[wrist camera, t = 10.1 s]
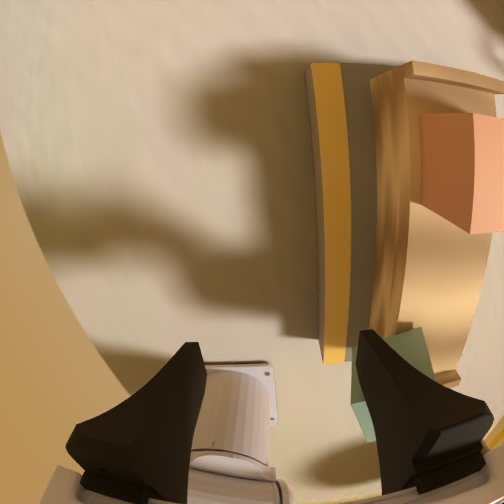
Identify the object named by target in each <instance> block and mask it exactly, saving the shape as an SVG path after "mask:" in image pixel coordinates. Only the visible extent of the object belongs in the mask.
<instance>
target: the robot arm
mask: <svg viewBox="0 0 504 504" xmlns="http://www.w3.org/2000/svg"><path fill="white" fill-rule="evenodd" d="M356 369H357V374H358V379H359V383H360V386H361V389H362V392H363V395H364V398H365V401H366V404H367V407H368V410H369V413H370V416H371V419H372V423H373V427H374V432H375V437H376V443H377V449H378V456H379V463H380V473H381V485H382V496H378V497H373V498H368V499H363V500H358V501H353V502H347V503H340V504H502V503H503V502H504V444H502V445H500V446H498V447H496V448H494V449H492V450H490V451H489V452H487V453H486V454H484V455H482V453H481V450H482V449H483V445H482V443H481V440H482V439H483V437H484V436H485V435H486V433H487V432H488V431H489V429H490V428H491V426H492V424H493V420H494V417H493V415H492V413H491V411H490V409H489V408H488V406H487V404H486V403H485V401H482V400H479V399H475V398H472V397H469V396H466V395H463V394H461V393H458V392H456V391H453V390H451V389H449V388H447V387H445V386H443V385H441V384H439V383H437V382H436V381H434V380H432V379H431V378H429V377H428V376H426V375H425V374H423V373H421V372H420V371H419V370H417V369H416V368H415V367H413V366H412V365H411V364H409V363H408V362H407V361H406V360H405V359H403V358H402V357H401V356H400V355H399V354H398V353H397V352H396V351H395V350H393V349H392V348H391V347H390V346H389V345H388V344H387V343H386V342H385V341H384V340H383V339H382V338H381V337H380V336H379V335H378V334H377V333H376V332H375V331H374V330H373V329H370V330H362V331H360V332H359V341H358V349H357V357H356ZM265 372H269V373H265ZM277 424H278V423H277V411H276V400H275V390H274V379H273V369H272V365H271V364H268V363H262V364H236V365H204V361H203V357H202V354H201V350H200V347H199V343H198V342H185V343H184V345H183V346H182V347H181V348H180V349H179V350H178V351H177V352H176V354H175V355H174V356H173V357H172V358H171V359H170V360H169V361H168V363H167V364H166V365H165V366H164V367H163V368H162V369H161V370H160V371H159V372H158V373H157V374H156V375H155V376H154V377H153V378H152V379H151V380H150V381H149V382H148V383H147V384H146V385H145V386H143V387H142V388H141V389H140V390H139V391H137V392H136V393H135V394H133V395H132V396H131V397H129V398H128V399H126V400H125V401H124V402H122V403H120V404H119V405H117V406H116V407H114V408H112V409H111V410H109V411H107V412H105V413H103V414H101V415H99V416H97V417H94V418H92V419H90V420H87V421H84V422H82V423H79V424H77V425H76V426H75V429H74V430H73V432H72V434H71V436H70V438H69V440H68V442H67V444H66V449H67V452H68V453H69V455H70V456H71V457H72V458H73V459H74V460H75V461H76V462H77V463H78V464H79V465H80V466H81V467H82V468H83V469H84V470H85V472H84V474H83V476H82V475H81V474H79V473H78V472H75V471H73V470H70V469H67V468H64V467H62V466H60V465H58V466H57V467H56V469H55V471H54V473H53V475H52V478H51V480H50V482H49V484H48V486H47V488H46V491H45V493H44V495H43V497H42V499H41V502H40V504H294V498H293V494H292V492H291V490H290V488H289V487H288V485H287V484H286V483H285V482H284V481H283V480H278V479H276V468H273V467H269V448H270V427H273V426H276V425H277Z"/></svg>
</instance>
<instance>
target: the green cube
mask: <svg viewBox="0 0 504 504" xmlns="http://www.w3.org/2000/svg"><path fill="white" fill-rule="evenodd" d="M383 340H384V341H385V342H386V343H387V344H388V345H389V346H390V347H391V348H392V349H393V350H395V351H396V352H397V353H398V354H399V355H400V356H401V357H402V358H403V359H405V360H406V361H407V362H408V363H409V364H411V365H412V366H413V367H415V368H416V369H417V370H419V371H420V372H421V373H423V374H425V375H426V376H428V377H429V378H431V379H432V380H434V381H436V380H435V376H434V372H433V368H432V364H431V360H430V356H429V352H428V348H427V345H426V341H425V338H424V334H423V331H422V327H418V328H415V329H412V330H409V331H406V332H403V333H400V334H397V335H393V336H390V337H387V338H383ZM357 349H358V346H355V347H352V381H351V406H352V408H353V411H354V413H355V415H356V417H357V420H358V422H359V424H360V426H361V429H362V431H363V433H364V436H365V438H366V440H367V442H368V443H369V442H374V441H376V437H375V432H374V427H373V423H372V419H371V416H370V413H369V410H368V407H367V404H366V401H365V398H364V395H363V392H362V389H361V386H360V383H359V379H358V374H357V369H356V357H357Z"/></svg>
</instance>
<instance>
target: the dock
mask: <svg viewBox="0 0 504 504" xmlns="http://www.w3.org/2000/svg"><path fill="white" fill-rule="evenodd" d="M394 68H396V67H395V66H384V65H371V64H350V63H311V64H310V65H309V67H308V69H307V70H306V72H305V81H306V90H307V98H308V107H309V117H310V127H311V137H312V149H313V161H314V175H315V191H316V209H317V231H318V266H319V345H320V350H321V355H322V360H323V365H327V364H335V363H344V362H346V361H352V347H355V346H358V341H359V332H360V331H362V330H369V324H370V316H371V307H372V297H373V285H374V273H375V257H376V234H377V167H376V145H375V129H374V117H373V106H372V96H371V88H370V79H372V78H375V77H377V76H379V75H381V74H383V73H385V72H387V71H390V70H392V69H394Z"/></svg>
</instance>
